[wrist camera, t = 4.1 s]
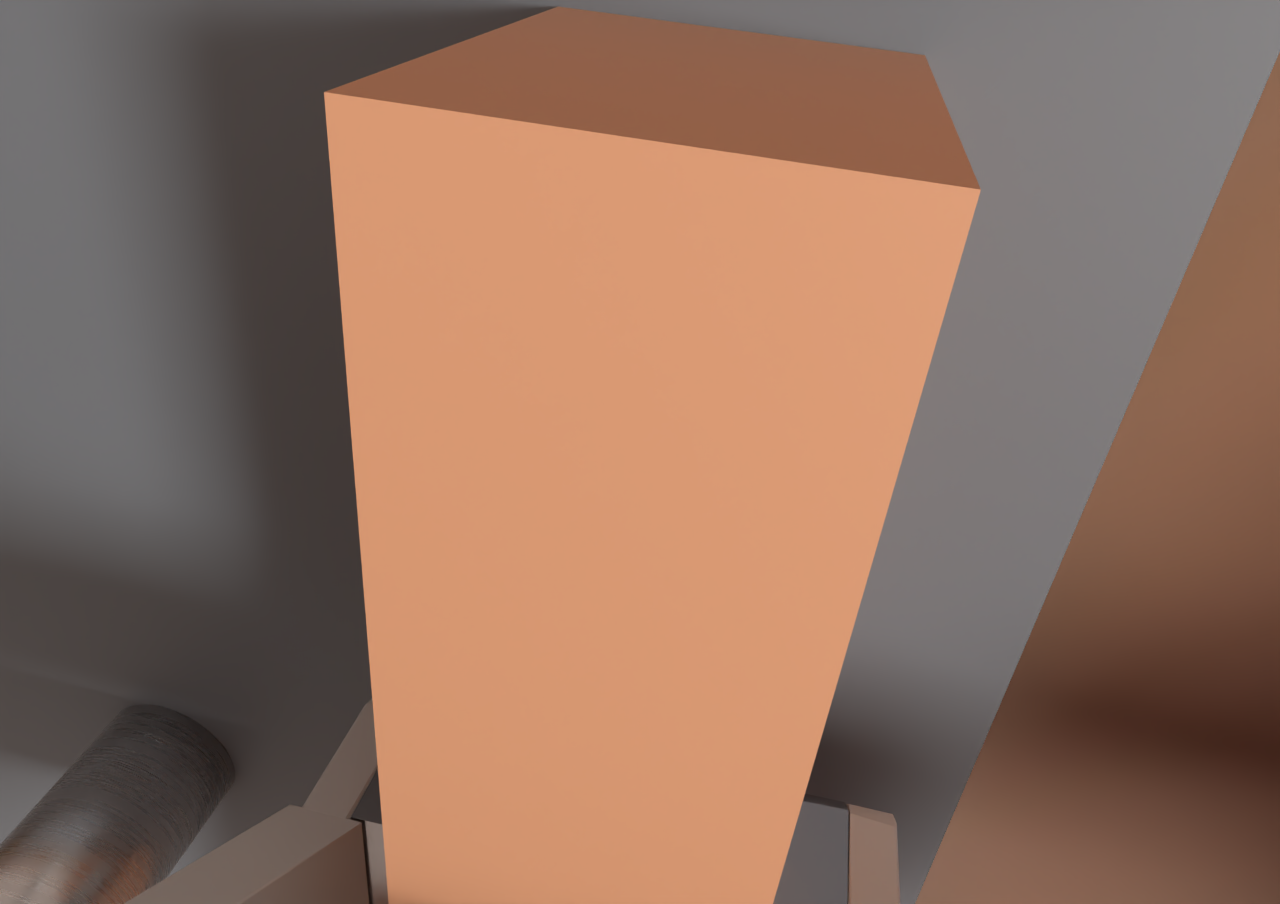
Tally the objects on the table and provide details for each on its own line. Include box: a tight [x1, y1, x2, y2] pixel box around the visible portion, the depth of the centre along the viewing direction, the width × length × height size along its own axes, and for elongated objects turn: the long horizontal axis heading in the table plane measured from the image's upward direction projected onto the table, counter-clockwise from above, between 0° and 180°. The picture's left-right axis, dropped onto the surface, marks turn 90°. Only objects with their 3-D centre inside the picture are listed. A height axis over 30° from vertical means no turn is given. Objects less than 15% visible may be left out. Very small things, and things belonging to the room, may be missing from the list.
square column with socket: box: [324, 7, 981, 904], centre depth 10 cm, size 16×6×4 cm, turn 174°
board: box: [0, 0, 1280, 904], centre depth 14 cm, size 24×21×1 cm
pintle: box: [0, 705, 235, 904], centre depth 12 cm, size 2×2×6 cm
